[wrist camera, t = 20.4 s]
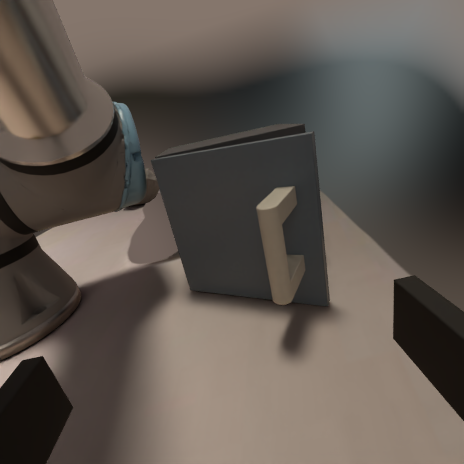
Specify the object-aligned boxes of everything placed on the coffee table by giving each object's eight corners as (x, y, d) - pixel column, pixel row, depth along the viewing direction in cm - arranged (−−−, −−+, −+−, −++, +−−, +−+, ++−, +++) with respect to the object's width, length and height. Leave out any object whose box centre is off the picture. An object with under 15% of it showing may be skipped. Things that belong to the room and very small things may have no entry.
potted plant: (118, 202, 77) (98, 186, 87) (155, 216, 87) (134, 200, 97) (138, 163, 77) (116, 151, 86) (173, 182, 86) (150, 169, 96)
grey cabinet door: (317, 349, 22) (292, 145, 16) (162, 319, 30) (109, 173, 24) (329, 300, 27) (314, 131, 21) (194, 285, 35) (156, 158, 29)
